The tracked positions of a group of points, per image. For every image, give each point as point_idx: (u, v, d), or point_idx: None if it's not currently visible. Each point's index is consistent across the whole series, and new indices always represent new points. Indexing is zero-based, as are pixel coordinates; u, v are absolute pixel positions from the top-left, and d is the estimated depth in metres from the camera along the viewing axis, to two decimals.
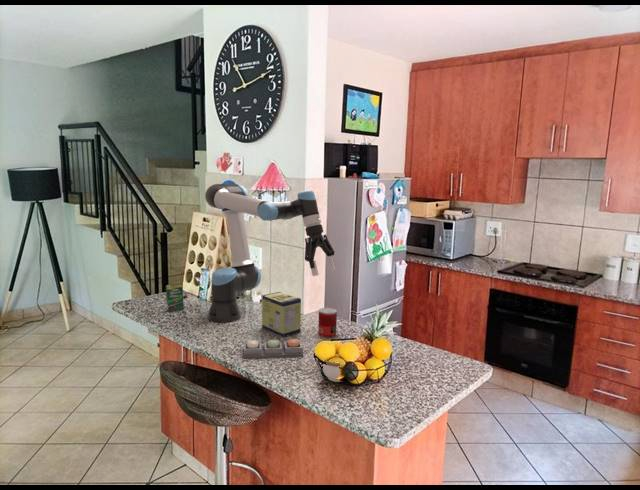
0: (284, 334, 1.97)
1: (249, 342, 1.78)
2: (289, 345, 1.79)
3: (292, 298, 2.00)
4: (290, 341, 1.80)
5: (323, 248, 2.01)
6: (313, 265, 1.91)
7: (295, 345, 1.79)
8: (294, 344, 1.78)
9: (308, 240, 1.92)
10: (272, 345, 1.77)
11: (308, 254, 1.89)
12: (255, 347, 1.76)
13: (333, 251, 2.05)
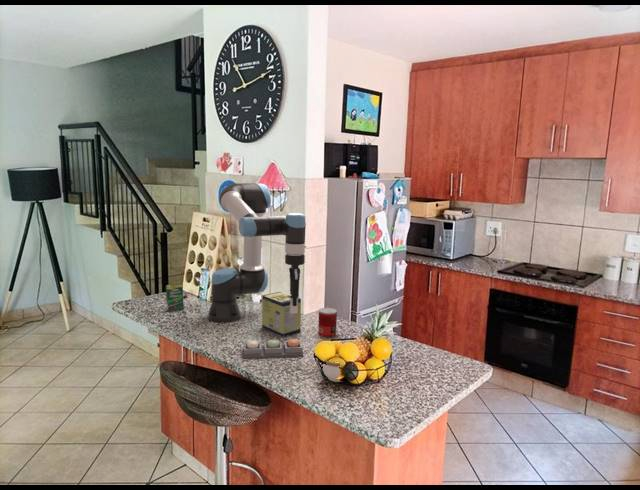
0: (284, 334, 1.97)
1: (249, 342, 1.78)
2: (289, 345, 1.79)
3: None
4: (290, 341, 1.80)
5: None
6: None
7: (295, 345, 1.79)
8: (294, 344, 1.78)
9: (297, 278, 1.70)
10: (272, 345, 1.77)
11: (297, 293, 1.72)
12: (255, 347, 1.76)
13: None
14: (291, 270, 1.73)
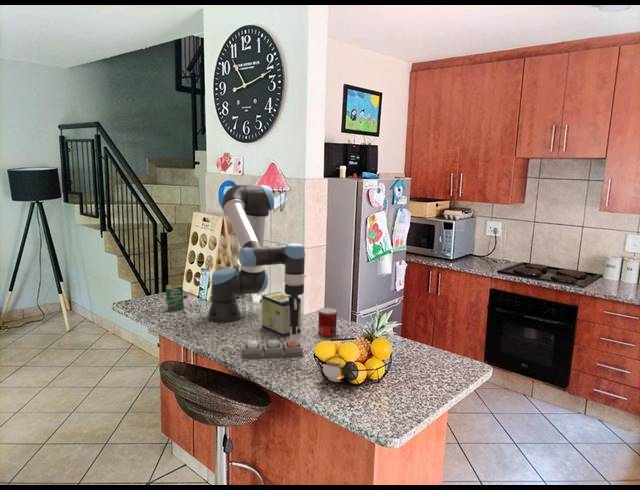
0: (284, 334, 1.97)
1: (249, 342, 1.78)
2: (289, 345, 1.79)
3: None
4: None
5: None
6: (295, 331, 1.78)
7: (295, 345, 1.79)
8: (294, 344, 1.78)
9: (297, 308, 1.72)
10: (272, 345, 1.77)
11: (296, 322, 1.75)
12: (255, 347, 1.76)
13: None
14: (291, 300, 1.75)
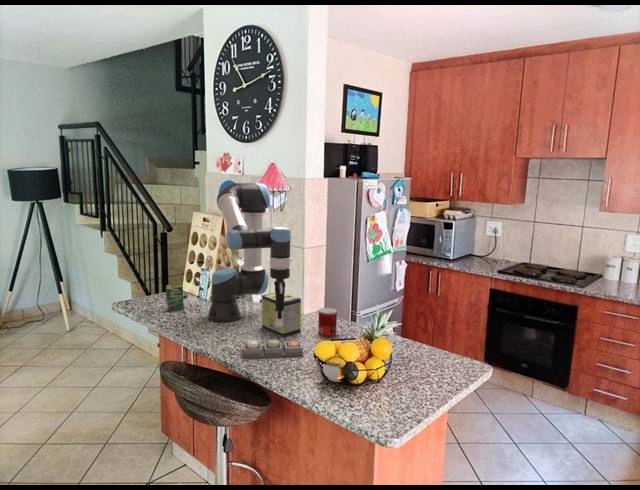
0: (284, 334, 1.97)
1: (249, 342, 1.78)
2: None
3: (292, 298, 2.00)
4: (290, 343, 1.80)
5: None
6: None
7: None
8: (294, 346, 1.79)
9: (282, 292, 1.71)
10: (272, 345, 1.77)
11: (282, 306, 1.73)
12: (255, 347, 1.76)
13: None
14: (276, 284, 1.74)
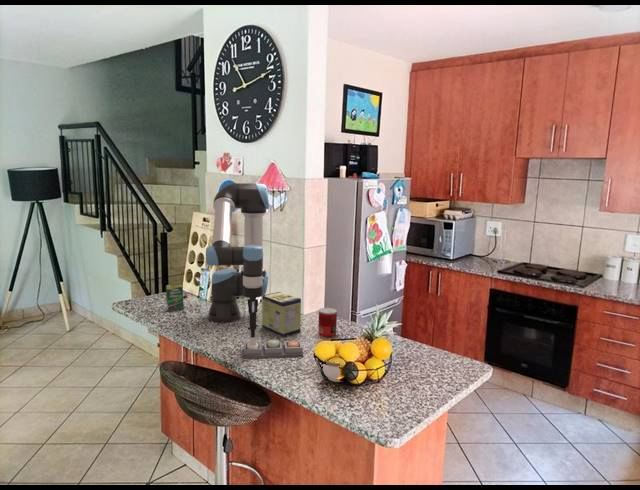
0: (284, 334, 1.97)
1: None
2: None
3: (292, 298, 2.00)
4: (290, 343, 1.80)
5: None
6: (254, 334, 1.76)
7: None
8: (294, 346, 1.79)
9: (254, 311, 1.70)
10: (272, 345, 1.77)
11: (254, 325, 1.72)
12: None
13: None
14: (249, 302, 1.73)
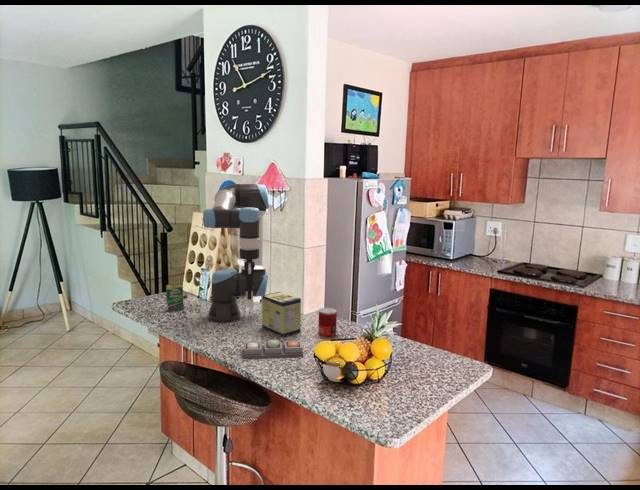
0: (284, 334, 1.97)
1: (249, 345, 1.78)
2: None
3: (292, 298, 2.00)
4: (290, 343, 1.80)
5: None
6: (251, 296, 1.77)
7: None
8: (294, 346, 1.79)
9: (251, 273, 1.70)
10: (272, 345, 1.77)
11: (251, 287, 1.73)
12: None
13: None
14: (245, 264, 1.73)
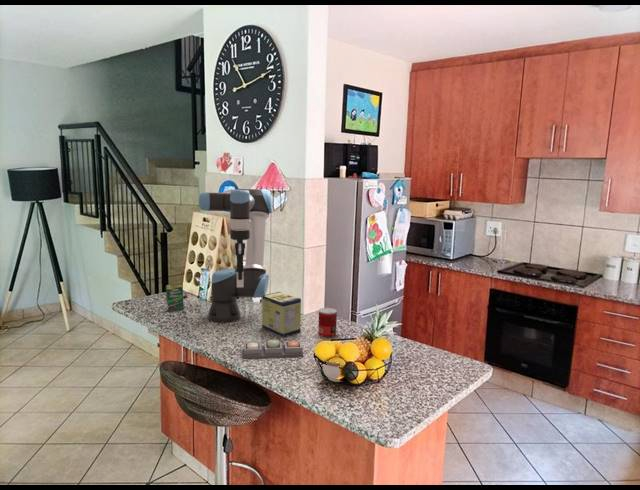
0: (284, 334, 1.97)
1: (249, 345, 1.78)
2: None
3: (292, 298, 2.00)
4: (290, 343, 1.80)
5: None
6: (241, 277, 1.81)
7: None
8: (294, 346, 1.79)
9: (241, 252, 1.75)
10: (272, 345, 1.77)
11: (241, 267, 1.78)
12: None
13: None
14: (236, 245, 1.78)
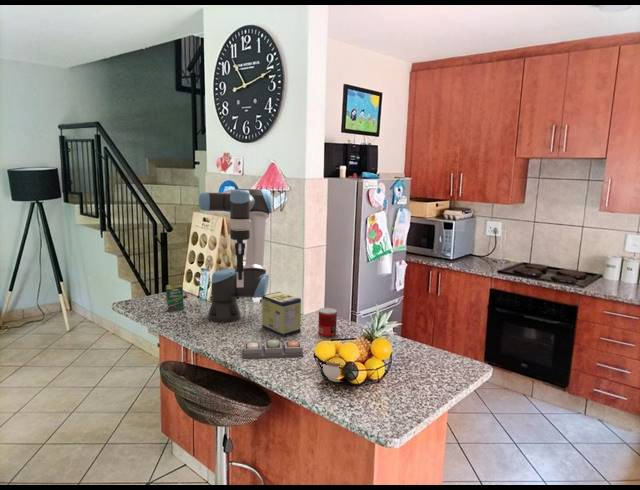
0: (284, 334, 1.97)
1: (249, 345, 1.78)
2: None
3: (292, 298, 2.00)
4: (290, 343, 1.80)
5: None
6: (241, 277, 1.81)
7: None
8: (294, 346, 1.79)
9: (241, 252, 1.75)
10: (272, 345, 1.77)
11: (241, 267, 1.78)
12: None
13: None
14: (236, 245, 1.78)
